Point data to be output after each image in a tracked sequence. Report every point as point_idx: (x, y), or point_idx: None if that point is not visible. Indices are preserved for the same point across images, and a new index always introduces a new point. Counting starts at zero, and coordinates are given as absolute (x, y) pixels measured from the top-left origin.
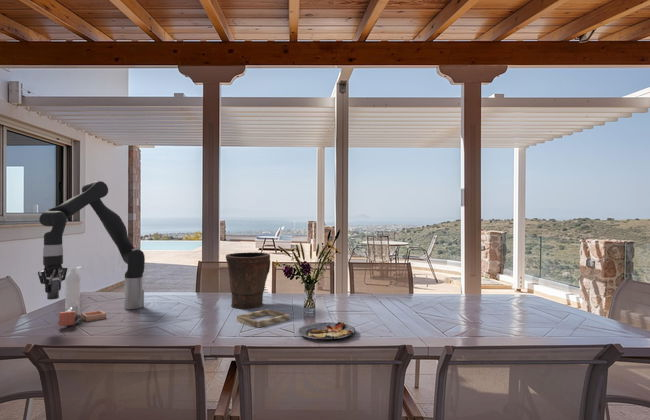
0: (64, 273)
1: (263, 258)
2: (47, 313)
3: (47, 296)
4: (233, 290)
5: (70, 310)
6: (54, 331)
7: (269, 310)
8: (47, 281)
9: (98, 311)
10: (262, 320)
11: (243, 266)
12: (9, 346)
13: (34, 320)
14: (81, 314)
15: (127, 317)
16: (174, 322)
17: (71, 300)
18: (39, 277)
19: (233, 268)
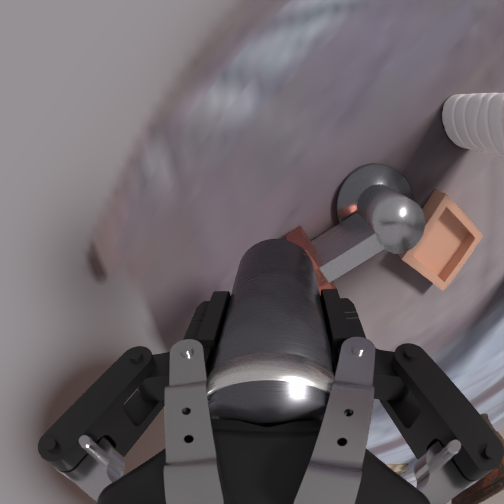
0: (413, 448)
1: None
2: (451, 4)
3: (238, 269)
4: None
5: (347, 268)
6: (250, 243)
7: (399, 473)
8: (204, 373)
9: (473, 236)
10: None
11: (454, 501)
12: (97, 249)
13: (367, 16)
14: (440, 200)
15: (435, 332)
16: (371, 428)
17: (492, 138)
18: (80, 404)
19: (466, 490)
